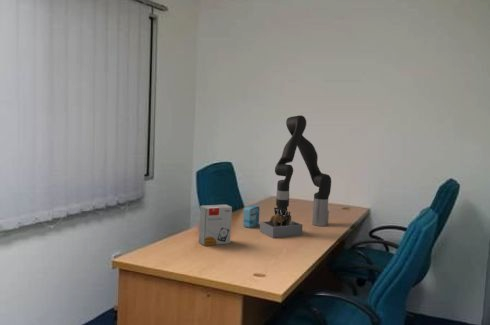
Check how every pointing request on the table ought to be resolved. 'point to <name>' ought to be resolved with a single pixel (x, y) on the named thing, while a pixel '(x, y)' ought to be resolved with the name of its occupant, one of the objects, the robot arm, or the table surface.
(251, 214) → the data package
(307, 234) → the table surface
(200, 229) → the hard drive box
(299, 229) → the bin
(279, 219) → the lion figurine
